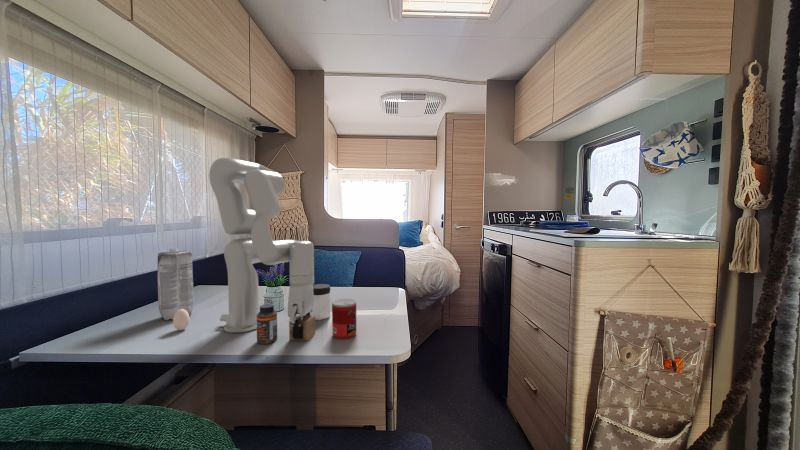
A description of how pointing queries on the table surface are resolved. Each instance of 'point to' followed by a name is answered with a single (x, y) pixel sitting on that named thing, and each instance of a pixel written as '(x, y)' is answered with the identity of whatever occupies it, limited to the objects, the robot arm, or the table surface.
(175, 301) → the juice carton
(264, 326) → the supplement bottle
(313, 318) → the walnut cube
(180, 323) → the egg
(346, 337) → the canned food
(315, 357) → the table surface
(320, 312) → the jar
